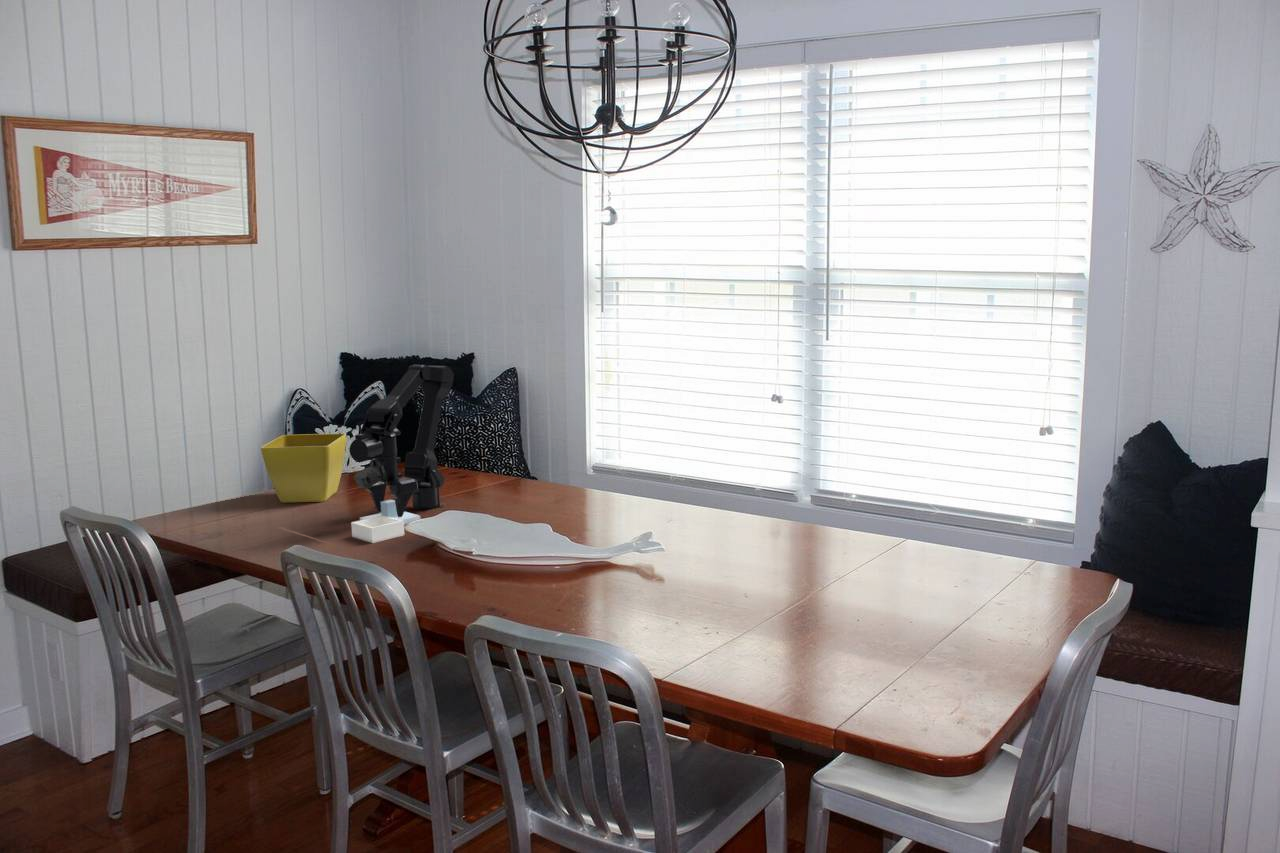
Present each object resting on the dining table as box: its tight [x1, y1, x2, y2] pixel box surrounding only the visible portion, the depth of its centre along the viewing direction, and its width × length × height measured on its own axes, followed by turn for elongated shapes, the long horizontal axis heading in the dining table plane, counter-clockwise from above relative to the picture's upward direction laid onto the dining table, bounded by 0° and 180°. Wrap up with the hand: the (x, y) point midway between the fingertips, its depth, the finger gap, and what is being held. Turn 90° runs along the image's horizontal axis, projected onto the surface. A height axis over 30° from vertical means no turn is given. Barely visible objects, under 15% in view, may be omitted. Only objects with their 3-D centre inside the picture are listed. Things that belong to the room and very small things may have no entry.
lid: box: [359, 499, 421, 524], centre depth 280 cm, size 11×11×5 cm
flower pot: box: [260, 433, 347, 503], centre depth 311 cm, size 19×19×17 cm
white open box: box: [350, 515, 405, 544], centre depth 266 cm, size 9×9×4 cm
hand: (389, 514), depth 280 cm, fingers open, 9 cm apart
